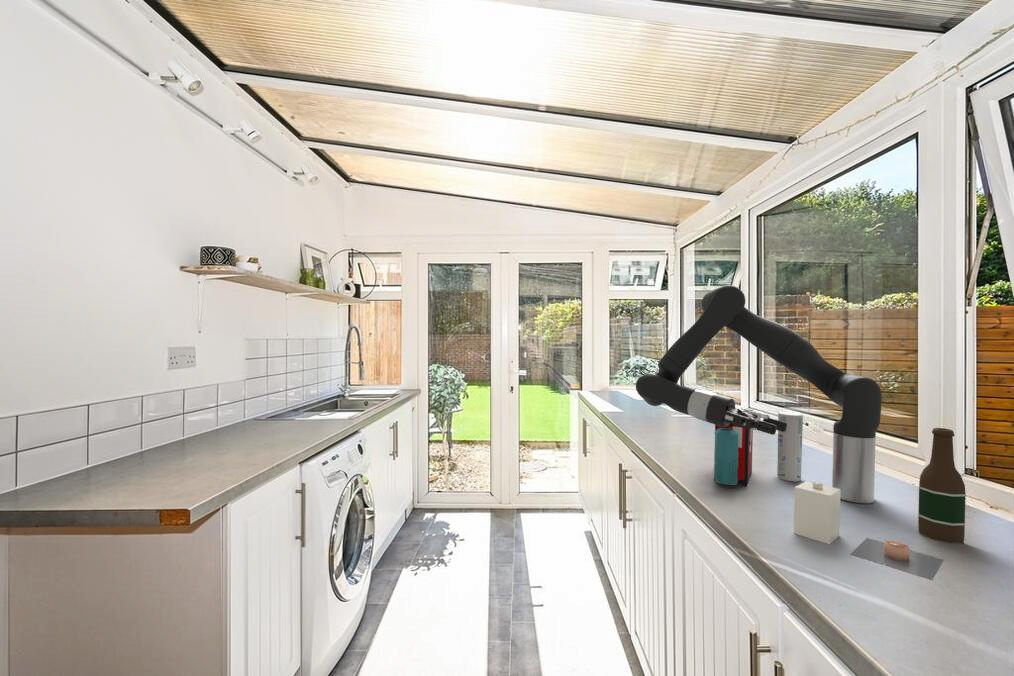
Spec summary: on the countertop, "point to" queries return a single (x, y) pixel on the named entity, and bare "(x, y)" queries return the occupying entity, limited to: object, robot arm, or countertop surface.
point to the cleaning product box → (743, 453)
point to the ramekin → (896, 550)
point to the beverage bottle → (726, 456)
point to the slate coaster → (915, 565)
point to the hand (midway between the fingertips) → (781, 429)
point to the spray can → (790, 447)
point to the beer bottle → (942, 493)
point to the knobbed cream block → (817, 511)
